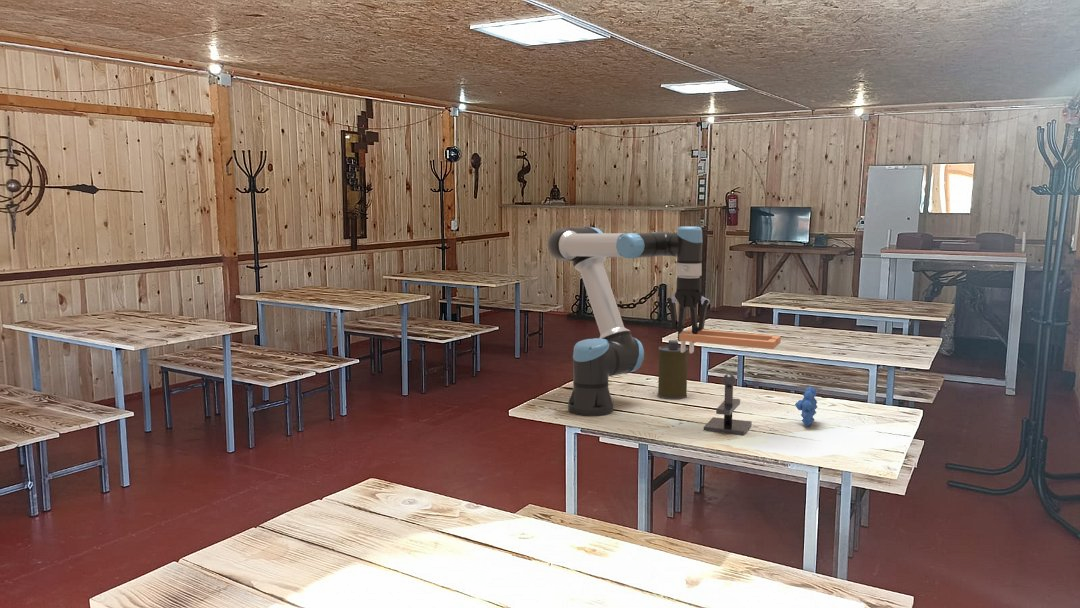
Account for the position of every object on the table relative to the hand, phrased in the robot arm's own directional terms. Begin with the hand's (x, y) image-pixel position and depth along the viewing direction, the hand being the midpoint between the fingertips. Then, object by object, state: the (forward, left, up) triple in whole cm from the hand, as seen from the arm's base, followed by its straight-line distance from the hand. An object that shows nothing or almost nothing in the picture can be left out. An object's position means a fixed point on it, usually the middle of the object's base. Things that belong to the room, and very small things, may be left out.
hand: (687, 352), depth 246 cm
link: (+13, 0, +4) cm, 14 cm away
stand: (+13, -1, -22) cm, 26 cm away
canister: (-14, +32, -23) cm, 42 cm away
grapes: (+34, +13, -23) cm, 43 cm away
